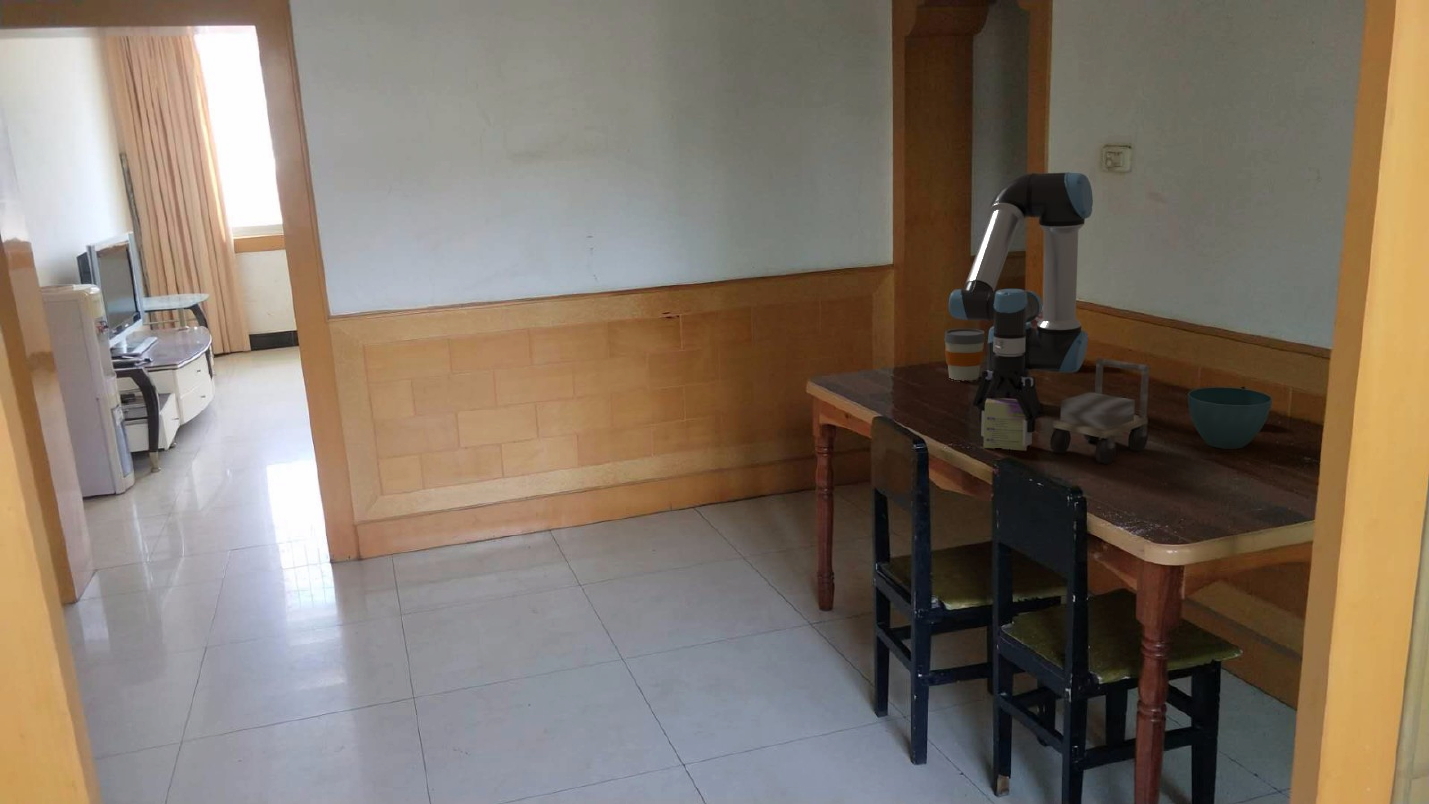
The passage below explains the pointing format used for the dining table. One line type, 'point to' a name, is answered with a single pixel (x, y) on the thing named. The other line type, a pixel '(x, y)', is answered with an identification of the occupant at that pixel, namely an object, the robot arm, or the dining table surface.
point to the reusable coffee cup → (964, 353)
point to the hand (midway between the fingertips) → (1006, 439)
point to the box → (1003, 424)
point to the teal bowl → (1228, 415)
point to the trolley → (1103, 416)
